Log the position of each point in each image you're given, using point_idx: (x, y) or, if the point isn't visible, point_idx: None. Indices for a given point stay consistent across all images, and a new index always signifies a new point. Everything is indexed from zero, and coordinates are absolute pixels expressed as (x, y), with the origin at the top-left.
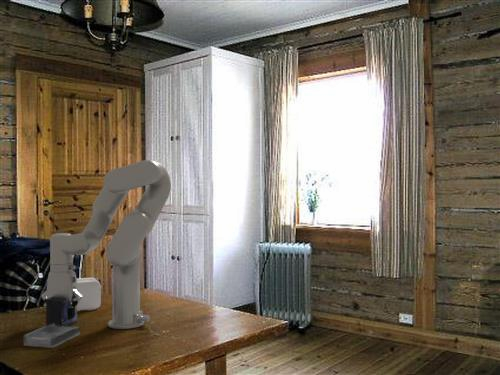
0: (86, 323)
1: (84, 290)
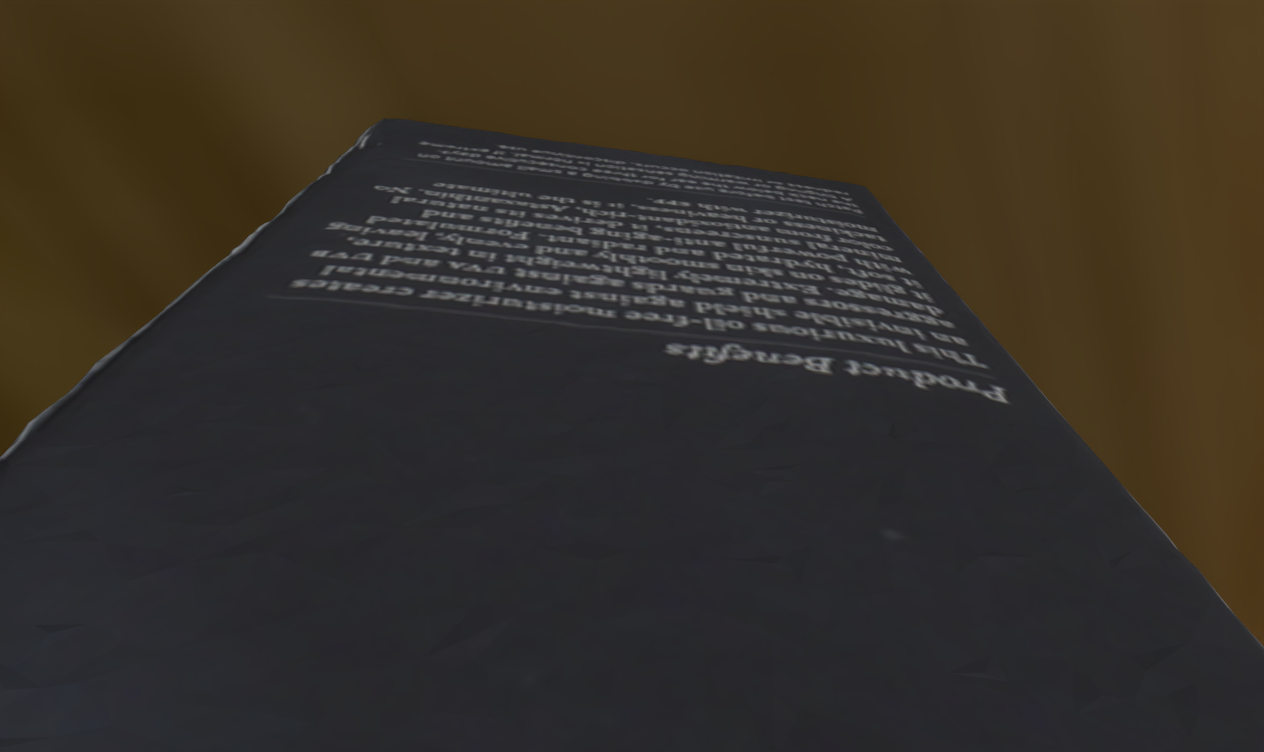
0: (1181, 303)
1: None
